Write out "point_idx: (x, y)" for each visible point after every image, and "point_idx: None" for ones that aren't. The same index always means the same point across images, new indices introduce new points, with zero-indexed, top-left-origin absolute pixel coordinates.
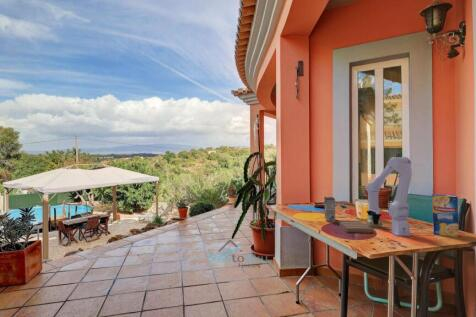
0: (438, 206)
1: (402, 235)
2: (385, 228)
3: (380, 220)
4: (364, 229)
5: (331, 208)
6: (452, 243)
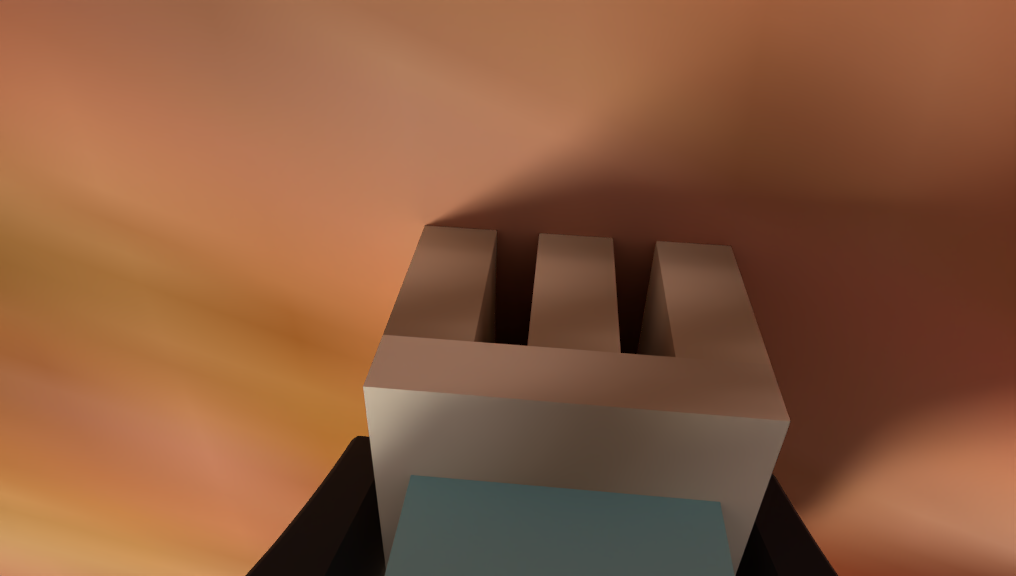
0: None
1: None
2: (930, 217)
3: (648, 430)
4: None
5: None
6: None
